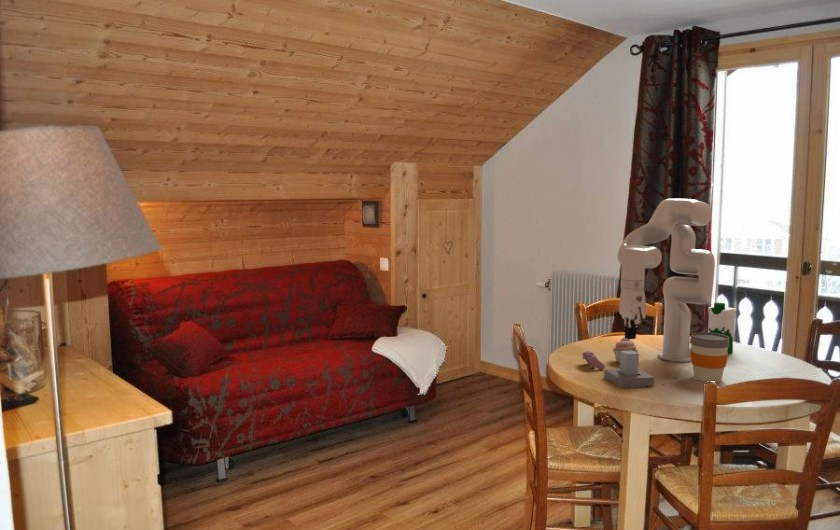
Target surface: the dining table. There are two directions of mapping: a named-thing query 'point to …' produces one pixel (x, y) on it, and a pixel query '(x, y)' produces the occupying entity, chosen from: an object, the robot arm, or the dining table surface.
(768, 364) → the dining table surface
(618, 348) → the cupcake
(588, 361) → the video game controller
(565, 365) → the dining table surface
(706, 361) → the reusable coffee cup
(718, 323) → the milk carton
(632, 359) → the plug
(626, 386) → the socket
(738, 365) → the dining table surface
